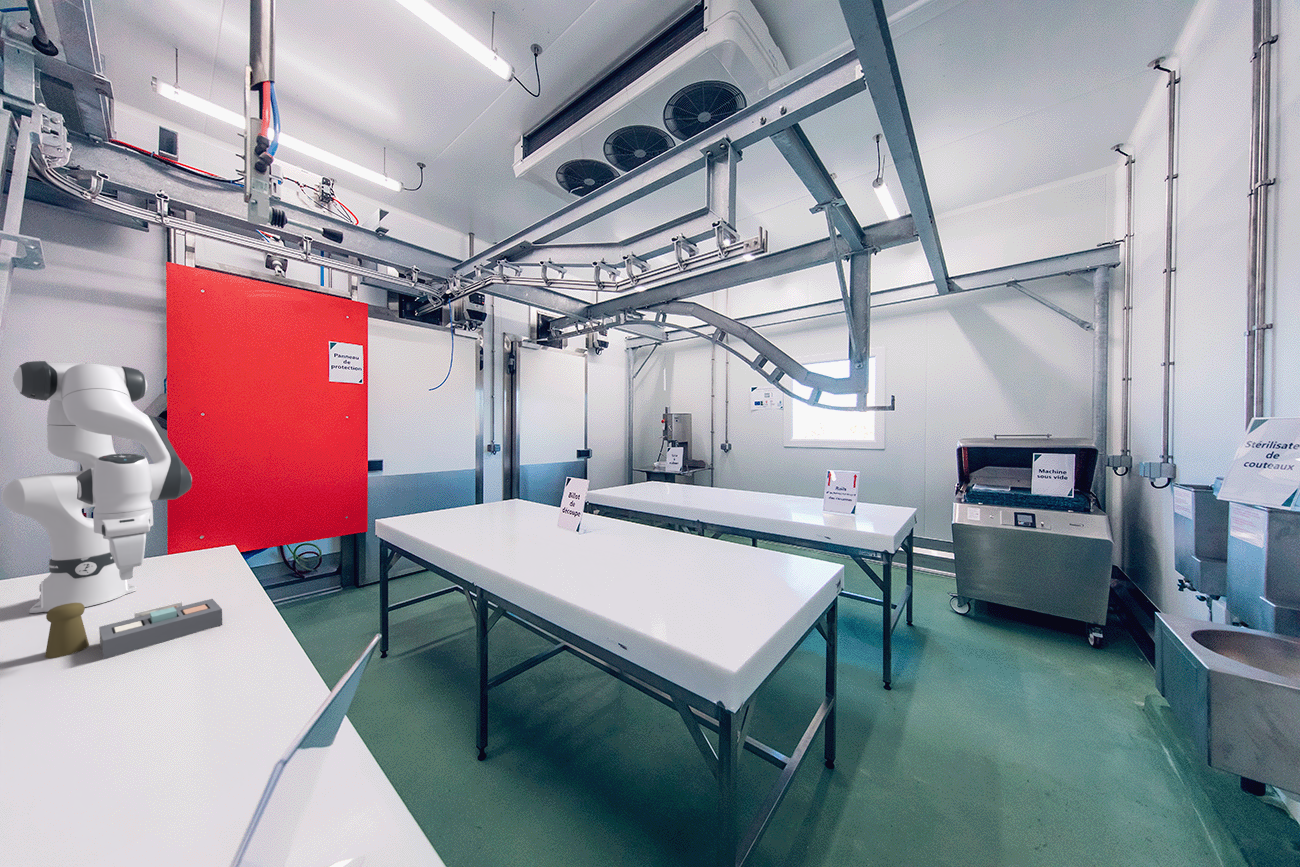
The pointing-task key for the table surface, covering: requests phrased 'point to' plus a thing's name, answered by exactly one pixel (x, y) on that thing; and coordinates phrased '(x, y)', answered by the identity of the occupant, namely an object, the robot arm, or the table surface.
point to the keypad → (158, 628)
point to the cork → (66, 630)
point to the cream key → (127, 627)
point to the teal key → (162, 615)
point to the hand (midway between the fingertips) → (126, 578)
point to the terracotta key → (194, 609)
